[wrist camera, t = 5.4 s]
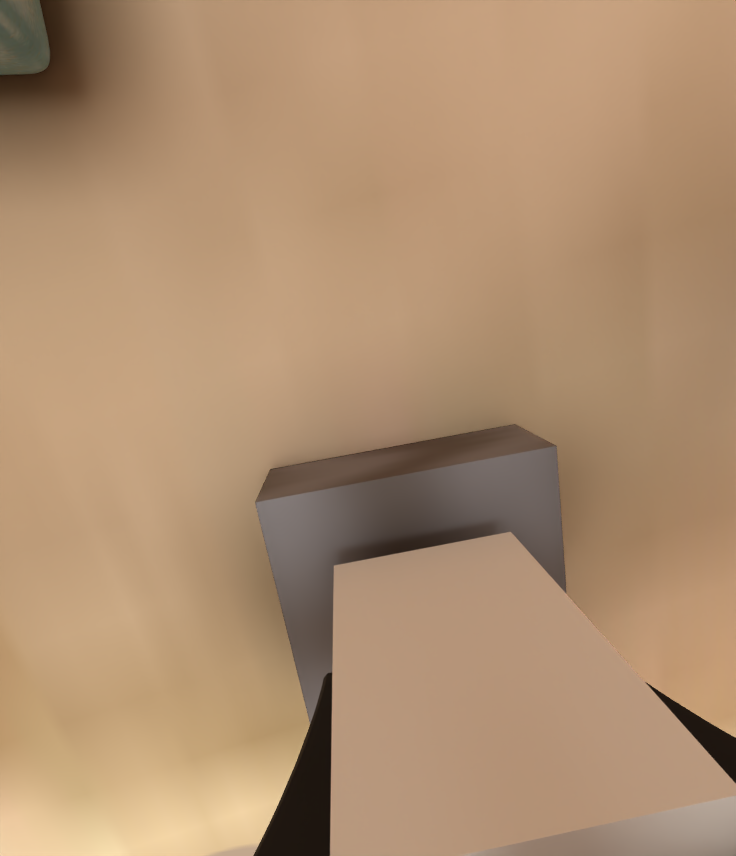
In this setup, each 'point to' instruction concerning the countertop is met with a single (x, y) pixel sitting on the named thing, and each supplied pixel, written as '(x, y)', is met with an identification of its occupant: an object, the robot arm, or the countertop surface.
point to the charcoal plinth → (400, 519)
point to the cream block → (502, 721)
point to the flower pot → (22, 38)
